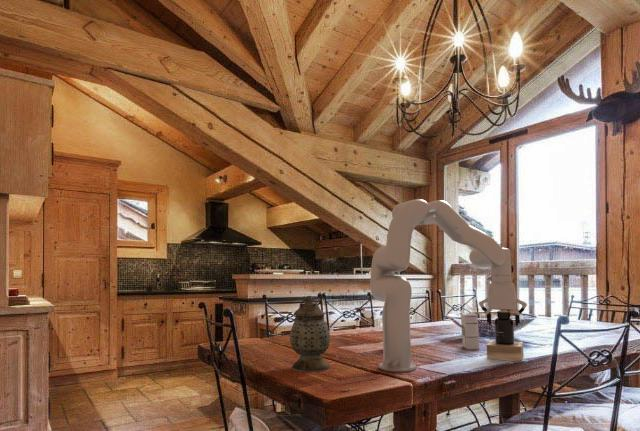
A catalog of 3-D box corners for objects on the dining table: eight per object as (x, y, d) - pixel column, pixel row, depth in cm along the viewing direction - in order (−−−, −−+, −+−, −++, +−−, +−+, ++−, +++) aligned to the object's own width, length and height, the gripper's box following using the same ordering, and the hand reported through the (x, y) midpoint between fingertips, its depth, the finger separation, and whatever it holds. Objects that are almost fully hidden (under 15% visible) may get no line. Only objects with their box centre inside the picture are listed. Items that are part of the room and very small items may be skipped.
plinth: (521, 361, 173) (521, 346, 174) (487, 358, 178) (486, 344, 179) (523, 355, 184) (522, 341, 184) (490, 353, 189) (490, 340, 189)
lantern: (339, 367, 166) (337, 295, 168) (309, 374, 156) (308, 297, 158) (311, 362, 176) (310, 294, 178) (281, 368, 166) (281, 296, 168)
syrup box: (480, 349, 198) (478, 314, 200) (465, 349, 198) (464, 314, 200) (475, 347, 204) (474, 312, 205) (461, 347, 204) (460, 312, 205)
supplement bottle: (496, 344, 179) (494, 312, 180) (494, 341, 186) (493, 310, 187) (515, 345, 177) (513, 312, 178) (513, 342, 184) (512, 310, 185)
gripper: (476, 279, 184) (478, 324, 183) (525, 280, 177) (527, 327, 175) (479, 279, 191) (481, 322, 189) (526, 279, 184) (528, 325, 182)
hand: (503, 324), depth 182 cm, fingers open, 9 cm apart
